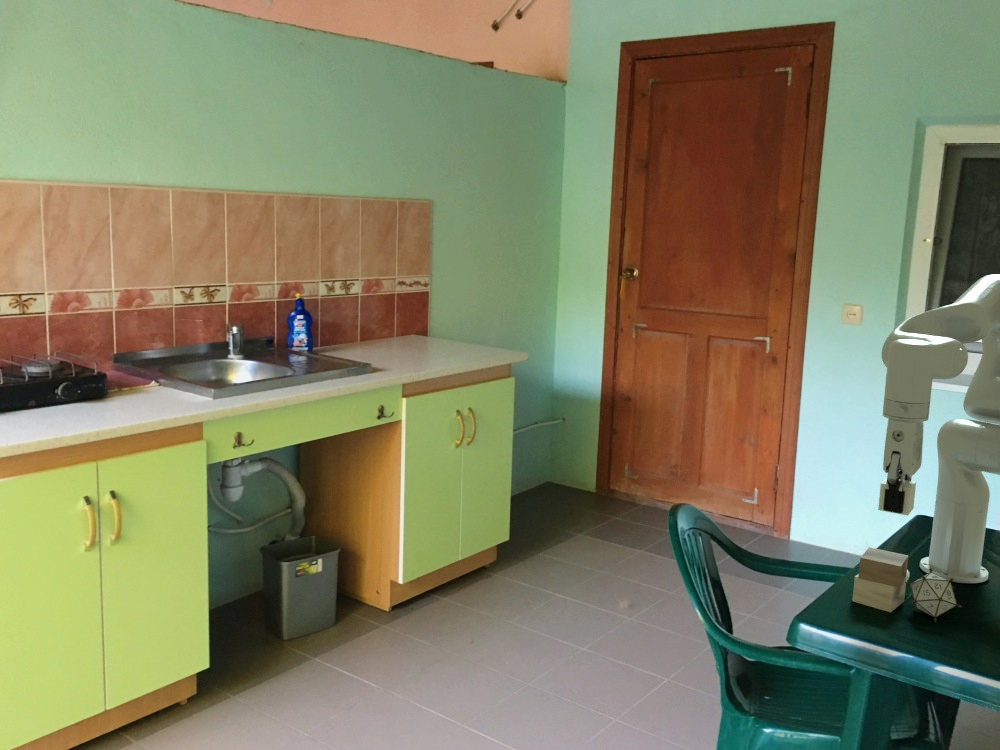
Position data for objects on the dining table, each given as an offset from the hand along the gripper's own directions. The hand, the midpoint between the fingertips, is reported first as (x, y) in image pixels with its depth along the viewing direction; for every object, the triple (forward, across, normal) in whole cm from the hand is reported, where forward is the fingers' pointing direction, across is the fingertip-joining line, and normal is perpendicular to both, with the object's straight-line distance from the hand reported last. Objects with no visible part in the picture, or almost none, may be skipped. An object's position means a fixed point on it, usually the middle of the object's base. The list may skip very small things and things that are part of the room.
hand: (896, 506), depth 168 cm
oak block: (+19, +1, +2) cm, 19 cm away
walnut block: (+14, +1, +1) cm, 14 cm away
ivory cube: (+1, 0, 0) cm, 1 cm away
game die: (+19, 0, -8) cm, 21 cm away
